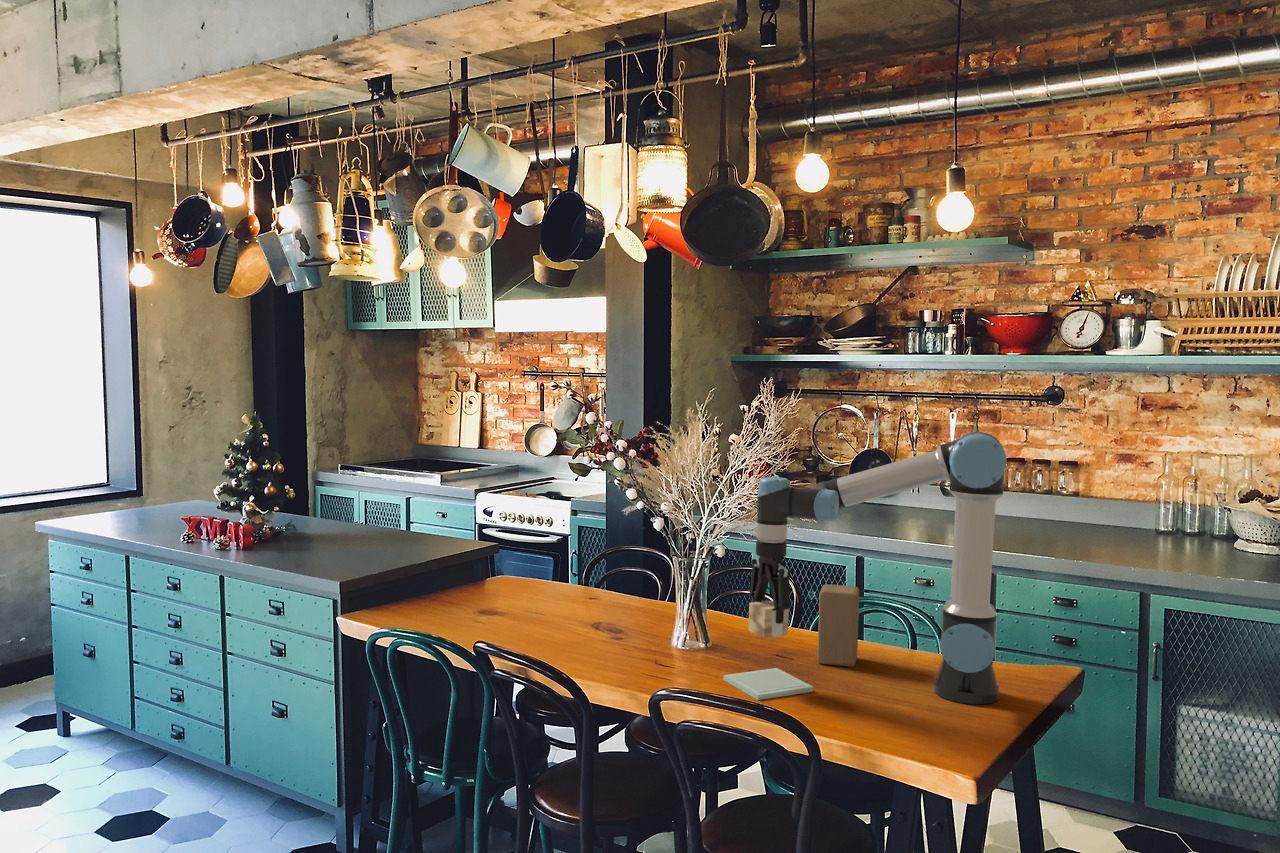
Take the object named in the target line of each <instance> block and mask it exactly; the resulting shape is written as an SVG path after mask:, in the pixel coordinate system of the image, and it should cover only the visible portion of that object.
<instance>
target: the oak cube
mask: <svg viewBox="0 0 1280 853" xmlns="http://www.w3.org/2000/svg"><path fill="white" fill-rule="evenodd" d="M748 605H749V606H748V607H749V608H748V624H747V625H748V629H747V630H748V631H749V632H750V633H753V634H754V635H757V636H759V637H761V638H764V639H766V638H775V637H776V638H777V637H778V636H775V637H773V636H771V631H772V609H773V608H774V602H773V600H768V601H767V600H765V601H764V602H763V601H762V602H755V601H753V602H749V604H748ZM778 605H779V604H778ZM789 612H790V609H785V610H784V617H783V618H784V619H783V629H782V636H781V637H785V636H789V634H788V633H789V616H790V615H789V614H790V613H789Z"/></svg>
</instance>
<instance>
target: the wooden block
mask: <svg viewBox="0 0 1280 853" xmlns="http://www.w3.org/2000/svg"><path fill="white" fill-rule="evenodd" d="M818 600H819V601H818V603H819V604H818V628H817V631H818V632H817V662H818V663H819V664H821V665H830V666H837V667H838V666H840V667H848V668H852V667H855V666H856V662H857V658H858V644H859V643H858V641H859V615H860V614H859V613H860V608H859V607H860V589H859V587H858V586H853V585H841V584H823V585H822V587H821V589H820V592H819V597H818Z"/></svg>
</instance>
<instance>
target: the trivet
mask: <svg viewBox="0 0 1280 853" xmlns="http://www.w3.org/2000/svg"><path fill="white" fill-rule="evenodd" d="M722 679H723V681H725V683H728V684H730V685H731V686H733V687H735V688H736V689H738V690H739V691H741V692H744V693H745V694H747V695H749V696H750V697H752V698H754V699H755V700H756V701H760V700H767V699H774V698H782V697H787V696H793V695H799V694H807V693H812V692H814V686H813V685H811V684H809V683H807V682H805V681H803V680H801V679H800V678H797V677H795V676H793V675H792V674H789V673H787V672H786V671H783V670H782V669H779V667H774V668H766V669H759V670H751V671H745V672H738V673H737V672H736V673H730V674H725V675H723V678H722Z"/></svg>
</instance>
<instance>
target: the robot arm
mask: <svg viewBox="0 0 1280 853" xmlns="http://www.w3.org/2000/svg"><path fill="white" fill-rule="evenodd" d="M1006 455H1007V454H1006V451H1005V449H1004V448H1003V445H1002V443H1001V442H1000V441H999V439H998V438H996V437H995V436H993V435H991V434H989V433H988V432H984V431H974V432H968V433H966V434H965V435H963V436H961V437H959V438H957V439H953V440H951V441H948V442H946V443H943V444H939V445H938V447H937V448H936V449H935V450H933V451H930V452H926V453H923V454H919V455H916V456H912V457H908V458H905V459H901V460H897V461H894V462H890V463H888V464H887V463H886V464H884V465H880V466H876V467H874V468H870V469H865V470H862V471H859V472H855V473H851V474H849V475H845V476H844V475H843V476H841V477H837V478H836V479H835V478H834V479H830V480H828V481H820V482H817V483H815V484H814V485H812V486H811V487H794V486H791V485H790V481H789V479H788V478H785V477H779V476H777V477H776V476H766V477H762V478H760V479H759V481H758V491H757V494H756V495H757V496H756V497H757V505H756V506H757V509H756V510H757V514H756V516H757V517H756V527H755V528H756V529H755V532H756V533H755V537H756V538H757V540H756V541H755V555H757V557H759V558H752V559H751V568H752V569H751V578H750V586H749V593H748V594H749V597H750V598H752V600H753V602H764V601H767V599H766V598H765V597H766V593H767V588H768V587H769V586H768V585H769V584H770V588H771V595H772V601H773V602H774V608H773V609H772V631H771V636H773V637H772V638H775V636H777V637H783V636H782V629H783V619H784V618H783V617H784V610H785V609H789V610H790V609H791V608H790V607H791V598H790V594H791V593H790V576H791V569H790V568H789V567H787V568H786V567H784V564H783V559H784V558H785V557H786V556H787V549H788V548H787V546H788V545H787V541H786V540H787V537H788V519H789V518H790V519H795V518H796V519H802V520H803V519H804V520H813V521H815V520H816V521H820V522H824V521H827V522H830V521H831V522H833V521H835V520H836V519H837V518H838V515H839V510H841V509H843V508H846V507H851V506H854V505H857V504H862V503H865V502H870V501H873V500H877V499H881V498H884V497H888V496H892V495H895V494H899V493H903V492H907V491H910V490H914V489H918V488H922V487H926V486H929V485H932V484H936V483H941V482H945V481H946V482H948V483H949V490H948V491H949V493H950V494H951V495H953V497H954V499H955V505H954V506H955V510H954V522H953V525H954V527H953V529H954V530H953V542H952V543H953V545H952V547H953V548H952V560H951V561H952V563H951V583H950V599H949V600H946V601H945V603H944V605H943V606H942V617H941V618H942V619H941V620H942V621H941V622H942V624H941V636H940V639H939V650H940V653H941V655H942V660H941V663H940V665H939V666H940V667H939V668H938V672H937V674H936V675H937V676H936V677H935V679H934V683H933V692H934V693H935V694H936V695H937V696H939V697H941V698H944V699H945V700H949V701H952V702H956V703H961V704H970V705H988V704H993V703H995V702H997V701H999V699H1000V687H999V685H998V684H997V678H996V673H995V670H994V665H993V664H994V662H993V661H994V659H995V657H996V650H997V647H996V644H995V643H996V629H997V626H996V625H997V612H996V609H995V608H996V607H995V606H994V605H993V604H992V603H990V602H991V593H992V592H991V589H992V588H991V587H992V572H993V571H992V569H993V568H992V567H993V553H994V552H993V551H994V535H995V521H996V520H995V517H996V515H995V514H996V502H997V501H998V500H999V499H1000V498H1001V497H1002V496H1003V495H1004V486H1005V470H1006V468H1007V456H1006ZM778 604H779V605H778Z"/></svg>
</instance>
